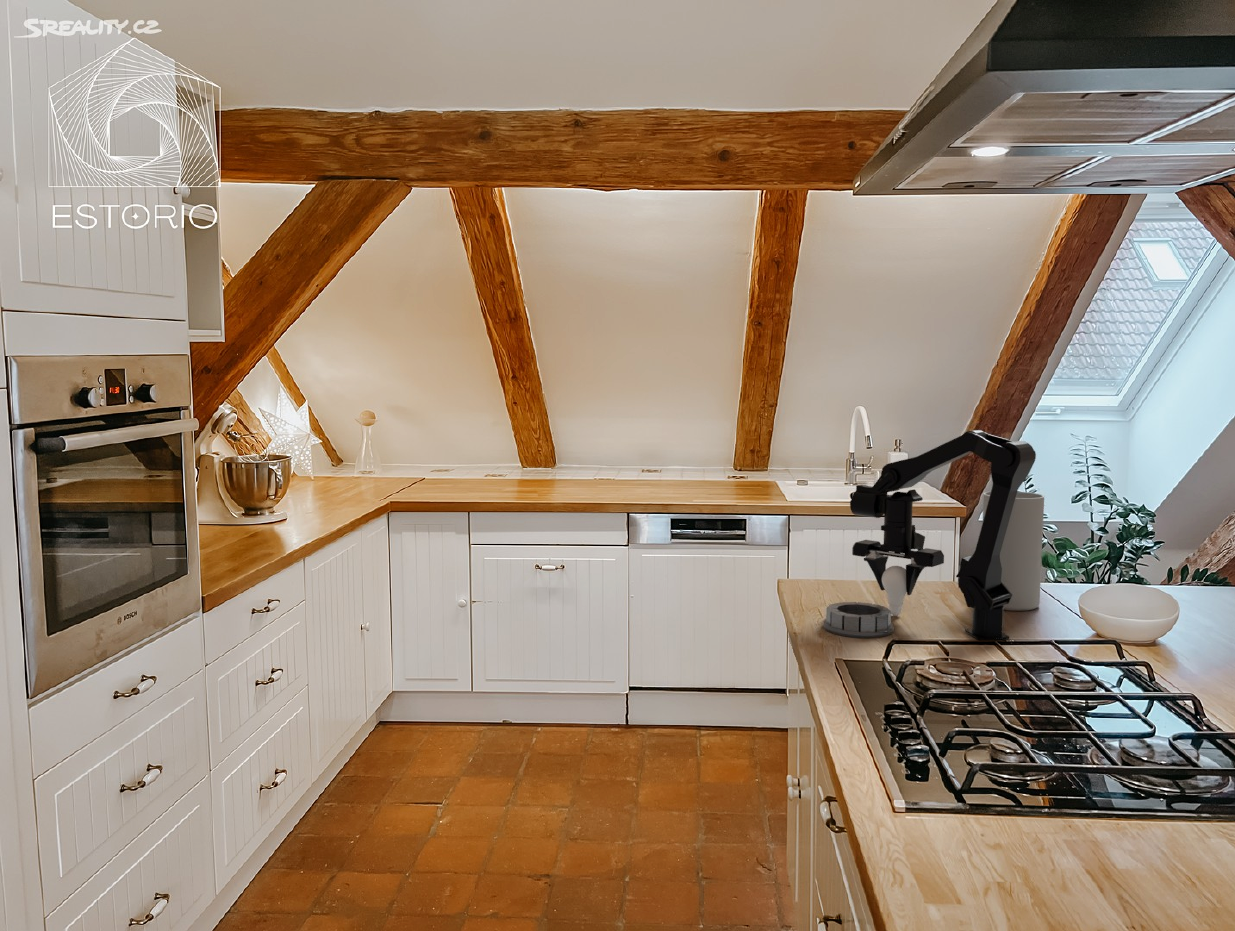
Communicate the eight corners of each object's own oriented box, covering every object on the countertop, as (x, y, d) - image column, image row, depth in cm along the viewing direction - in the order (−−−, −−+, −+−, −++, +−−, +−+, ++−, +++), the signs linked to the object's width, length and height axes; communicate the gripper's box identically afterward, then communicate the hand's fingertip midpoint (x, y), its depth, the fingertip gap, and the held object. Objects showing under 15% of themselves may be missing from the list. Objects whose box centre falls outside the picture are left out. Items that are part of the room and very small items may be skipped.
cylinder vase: (1047, 604, 218) (1052, 494, 216) (1026, 614, 209) (1031, 500, 207) (993, 595, 227) (997, 489, 224) (970, 605, 218) (974, 495, 215)
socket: (903, 637, 192) (904, 617, 192) (834, 638, 191) (834, 619, 191) (880, 619, 206) (880, 600, 206) (815, 620, 205) (815, 601, 205)
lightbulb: (907, 613, 211) (908, 563, 210) (912, 620, 205) (914, 569, 204) (878, 612, 212) (879, 562, 211) (883, 619, 206) (884, 568, 205)
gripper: (957, 521, 205) (954, 593, 207) (877, 511, 218) (875, 579, 220) (932, 527, 198) (930, 602, 199) (851, 517, 211) (850, 587, 212)
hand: (896, 592), depth 208 cm, fingers closed on lightbulb, 6 cm apart
